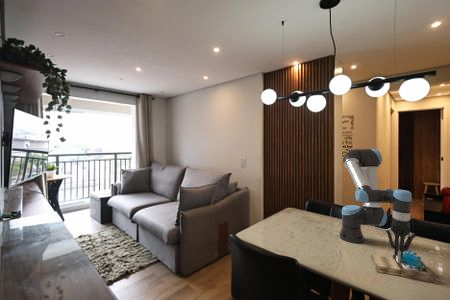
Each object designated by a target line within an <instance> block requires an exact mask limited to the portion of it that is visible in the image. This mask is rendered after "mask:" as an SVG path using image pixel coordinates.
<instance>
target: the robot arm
mask: <svg viewBox="0 0 450 300" xmlns="http://www.w3.org/2000/svg"><path fill="white" fill-rule="evenodd" d="M342 158H343V159H342V163H343V165H344V167H345V168H346V169H347V171H348V172H349V175H350V177H351V180H352V182H353V184H354V186H355V188H356V189H355V192H354V195H355V199H356V201H357V202H358V203H363V204H362V207H361V206H360V205H355V204H346V205H344V206H343V207H342V209H341V228H340V231H339V238H340V239H341V240H343V241H345V242H348V243H353V244H361V243H364V242H365V237H364V234H363V231H362V226H374V227H382V226H385V224H386V223H387V220H388V214H387V211H386V210H385V209H384V208H383V206H382V205H381V204H392V211H391V212H392V213H391V214H392V215H391V226H390V227H389V228H385V232H386V234H387V237H388V241H389V245H390V247H391V249H394V250H393V252H394V253H393V254H394V255H395V256H396V261H397V262H398V263H400V257H402V256H403V254H404V251H406V252H407V251H408V250H409V248H410V245H411V244H412V242H413V239H414V238H416V234H415V233H413V232H411V230H410V227H411V221H410V220H411V211H412V201H413V200H412V199H413V198H412V192H411V191H409V190H406V189H405V190H404V189H392V188H384V189H379V182H378V171H377V170H378V169H379V168H380V165H382V163H383V156H382V153H381V152H380V150H379V149H377V148H354V149H350V150H349V151H347V152H345V154H344V155H343V157H342ZM391 233H393V234H394V241H393V237H392V234H391ZM406 237H407V238H406ZM405 240H406V241H405Z"/></svg>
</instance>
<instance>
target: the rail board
mask: <svg viewBox="0 0 450 300" xmlns="http://www.w3.org/2000/svg"><path fill="white" fill-rule="evenodd" d="M369 257H370V260H371V263H372V265H373V268H374V270H375V272H376V273H379V274H385V275H389V276H396V277H401V278H408V279H411V280H419V281H422V282H428V283H434V273H432V271H431V270H430V269H429V268H428V266H427V265H426V263H424V262H423V263H422V264H421V263H420V262H419V261H417V262H418V263H419V264H420V265H422V266H424V267H425V268H424V269H422V268H421V269H419V270H418V269H415V268H414V267H415V266H414V265H412V267H413V268H412V269H411V268H409V266H411V265H410V264H407V266H405V265H404V263H407V262H405V261H402V262H401V261H400V263H398V262H397V261H396V256H395V254H394V253H393V254H392V257H386V256H381V255H374V254H373V255H372V254H370V256H369ZM402 257H403V256H402ZM400 259H403V258H401V257H400ZM417 259H418V258H417ZM403 260H404V259H403ZM418 260H420V261H422V258H421V259H418Z"/></svg>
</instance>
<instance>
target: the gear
mask: <svg viewBox="0 0 450 300" xmlns="http://www.w3.org/2000/svg"><path fill="white" fill-rule="evenodd" d="M401 258H403V259H404V260H403V259H400V261H401V262H402V261H405V262H407V263H404V265H405V266H407V264H410V265H411V266H409V268H411V269H412V268H413V267H412V265H414V266H415V267H414V268H415V269H418V270H419V269H421V268H422V269H424V268H425V267H424V266H422V265H420V264H419V263H418V262H417V261H419V262H420V263H421V264H422V263H424V262H423V261H422V257H421V255H418V253H417V252H416V251H414V252H413V253H412V249H408V252H407V251H404V252H403V257H401ZM417 258H418V259H421V261H420V260H418V259H417Z"/></svg>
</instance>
